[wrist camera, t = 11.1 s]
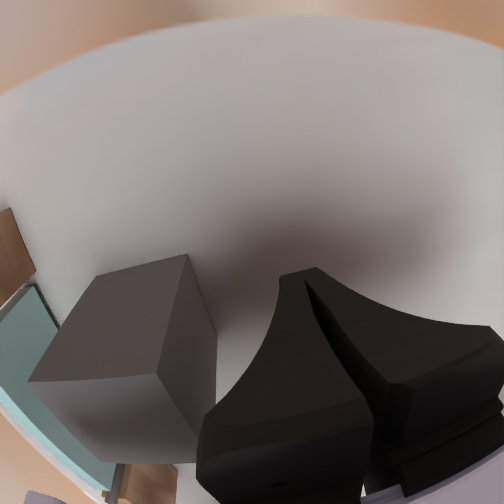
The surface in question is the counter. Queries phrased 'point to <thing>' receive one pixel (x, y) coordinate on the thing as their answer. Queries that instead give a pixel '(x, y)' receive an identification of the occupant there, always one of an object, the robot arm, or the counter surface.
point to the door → (23, 396)
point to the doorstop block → (134, 365)
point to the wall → (125, 475)
